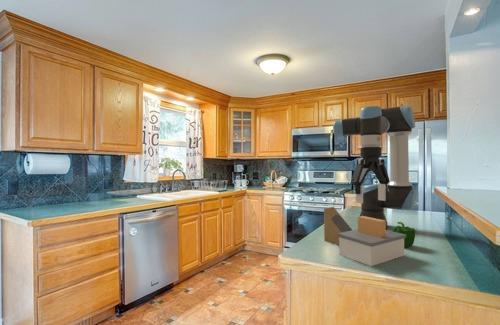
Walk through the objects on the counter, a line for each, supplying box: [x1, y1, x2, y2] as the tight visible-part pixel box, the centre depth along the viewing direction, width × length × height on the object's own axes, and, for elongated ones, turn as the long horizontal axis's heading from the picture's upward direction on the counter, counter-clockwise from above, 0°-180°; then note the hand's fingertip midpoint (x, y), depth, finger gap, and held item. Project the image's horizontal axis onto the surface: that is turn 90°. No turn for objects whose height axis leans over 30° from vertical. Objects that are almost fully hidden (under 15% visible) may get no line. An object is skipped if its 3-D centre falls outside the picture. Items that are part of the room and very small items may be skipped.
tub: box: [338, 237, 405, 267], centre depth 105 cm, size 20×14×7 cm
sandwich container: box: [323, 206, 353, 246], centre depth 121 cm, size 9×15×15 cm, turn 43°
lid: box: [337, 215, 406, 247], centre depth 105 cm, size 21×15×8 cm
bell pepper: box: [391, 221, 416, 248], centre depth 116 cm, size 8×8×10 cm
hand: (370, 201), depth 105 cm, fingers open, 13 cm apart
